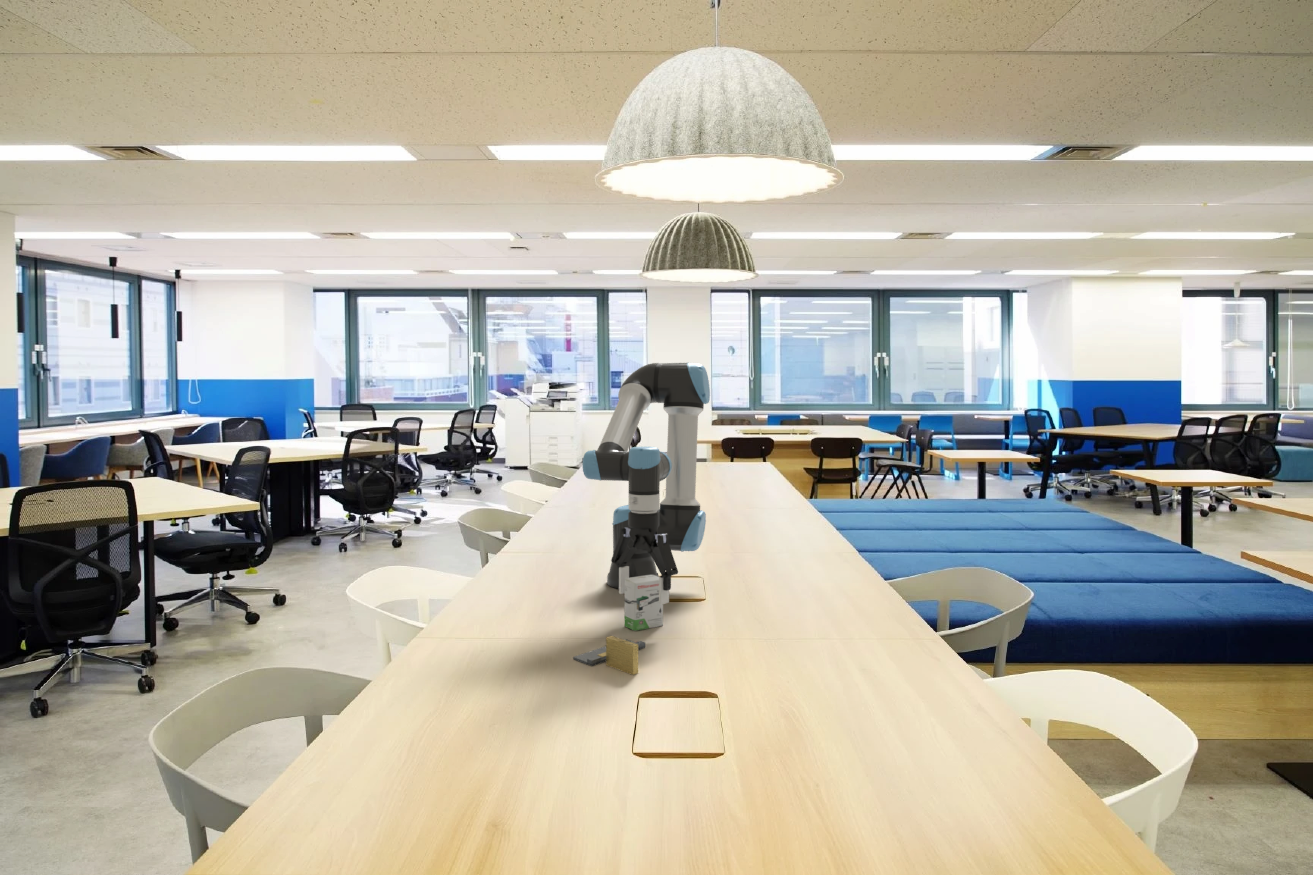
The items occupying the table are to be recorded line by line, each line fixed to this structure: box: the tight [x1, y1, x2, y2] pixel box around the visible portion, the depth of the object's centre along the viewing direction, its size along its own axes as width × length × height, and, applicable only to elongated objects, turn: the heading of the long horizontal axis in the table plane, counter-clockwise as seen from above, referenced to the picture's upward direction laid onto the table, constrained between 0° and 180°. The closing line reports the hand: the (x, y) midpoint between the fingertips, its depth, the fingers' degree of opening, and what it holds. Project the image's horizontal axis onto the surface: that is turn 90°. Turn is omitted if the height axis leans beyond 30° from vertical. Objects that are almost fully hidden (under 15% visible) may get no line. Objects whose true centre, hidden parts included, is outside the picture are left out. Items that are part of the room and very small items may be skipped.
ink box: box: [623, 575, 664, 632], centre depth 195 cm, size 9×5×12 cm, turn 123°
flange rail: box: [572, 635, 646, 676], centre depth 173 cm, size 16×16×6 cm
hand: (643, 598), depth 195 cm, fingers open, 13 cm apart
